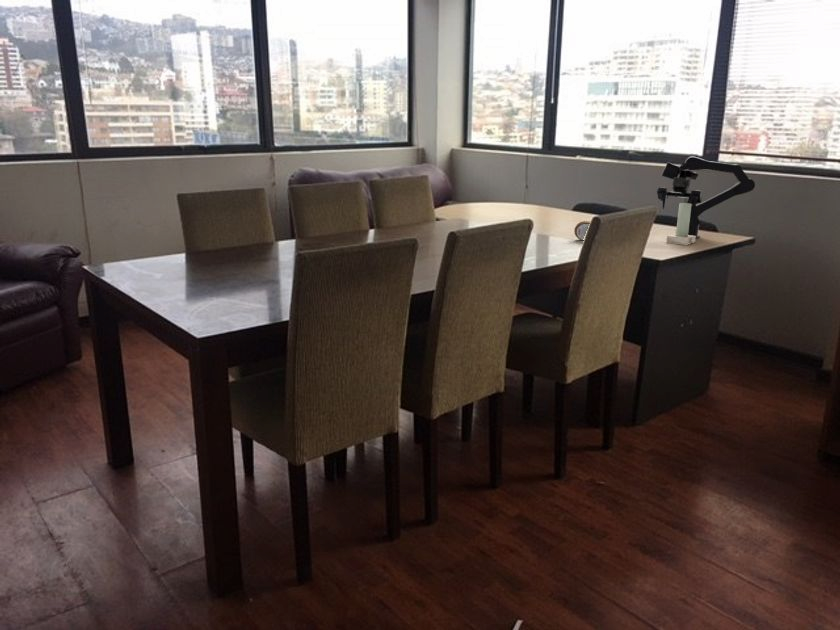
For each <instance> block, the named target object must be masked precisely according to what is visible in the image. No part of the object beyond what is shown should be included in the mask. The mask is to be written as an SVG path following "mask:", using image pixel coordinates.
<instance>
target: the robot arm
mask: <svg viewBox="0 0 840 630" xmlns="http://www.w3.org/2000/svg"><path fill="white" fill-rule="evenodd" d="M666 162H667V163H666V164H665V166H664V168H663V171H662V173H661V175H660V177H662V178H664V179H665V178H666V179H668V180H671V181H673V182H672V190H669V189H668V187H662V186H661V187H660V186H659V187H658V188H657V189H656V194H657V199H658V200H660V201H661V202H662V209H663V210H665V208H666V205H667V203H668V198H669V197H675V198H681V199H682V198H683V199H688V200H687V202H686V203H690V204H692V206H691V214H690V222H689V230H688V235H692V236H696V239H698V238H700V237H701V235H699V228H700V223H701V219H700V217H699V216H701V215H702V214H703V213H704V212H706V211H707V210H709V209H711V208H713V207H715V206H718V205H719V204H722V203H723V202H725V201H728V200H729V199H731V198H734V197H735V196H739V195H743V194H746V193H749V192H752V191H753V190H754V189H755V187H756V183H755V181H754V180H753V179H752V178H750V177H749V176H747V174H746V173H745V171H744V170H743V168H742V167H741V165H740V164H738V163H726V162H719V161H709V160H706V159H703V158H700V157H696V156H694V155H693V156H688V157H687V158H686V159H685V161H684V162H683V163H681V164H680V165H677V164H673V163H671V162H668V161H666ZM703 170H705V171H707V170H709V171H715V172H716V171H717V172H723V173H730V174H733V175H734V176H735V177H736V180H737V182H736V183H735V184H734V185H732V186H731V187H729V188H728V189H726V190H724V191H722V192H719V193H718V194H715V195H713V196H712V197H710V198H708V199H706V200H704V201H702V200H703V194H702V193H703V192H702V191H701V190H699V189H698V190H697V189H696V190H695V189H691V191H690V193H689V190H690V186H691V183H692V180H694V181H696V180H697V178H698V177H699V173H697V172H696V171H703Z"/></svg>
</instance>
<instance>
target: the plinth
mask: <svg viewBox="0 0 840 630" xmlns="http://www.w3.org/2000/svg"><path fill="white" fill-rule="evenodd" d="M696 239H697V238H696V236H692V235H688V236H687V237H680V236H676V232H675V233H671V234H668V235H666V243H669V244H675V245H682V246H689V245H692V244H691V243H693V244H695V243H696ZM694 242H695V243H694ZM688 244H689V245H688Z"/></svg>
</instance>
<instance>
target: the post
mask: <svg viewBox="0 0 840 630" xmlns="http://www.w3.org/2000/svg"><path fill="white" fill-rule="evenodd" d="M691 206H692V204H690V203H687V202H680V203H679V205H678V211H677V221H676V222H677V223H676V229H675V233H676V236H680V237H687V236H688V230H689V222H690V214H691Z"/></svg>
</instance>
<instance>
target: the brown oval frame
mask: <svg viewBox="0 0 840 630" xmlns="http://www.w3.org/2000/svg"><path fill="white" fill-rule="evenodd" d="M590 222H591V221H590V220H589V221H586V220H585V221H580V222H578V223H577V224H576V225H575V227H574V235H575V237H576V238H577V239H578V240H579V241H582V240H583V239H584V236H585V234H586V231H587V229H588V226H589V224H590Z"/></svg>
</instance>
